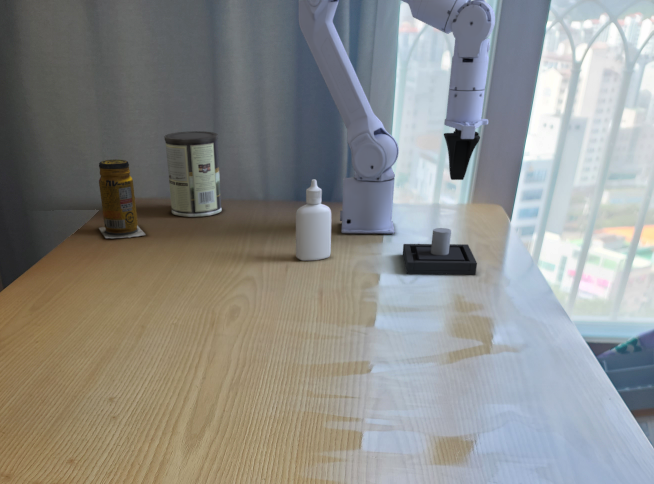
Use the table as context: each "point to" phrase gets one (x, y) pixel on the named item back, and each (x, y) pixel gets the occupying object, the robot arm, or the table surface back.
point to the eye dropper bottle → (313, 227)
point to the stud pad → (450, 257)
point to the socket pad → (439, 262)
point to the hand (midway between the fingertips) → (456, 179)
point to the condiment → (118, 200)
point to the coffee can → (193, 173)
